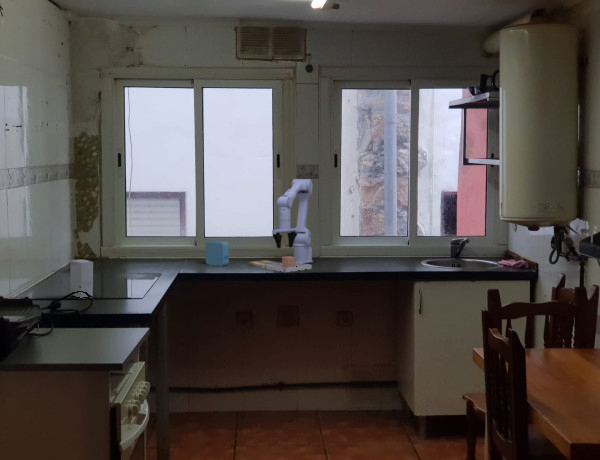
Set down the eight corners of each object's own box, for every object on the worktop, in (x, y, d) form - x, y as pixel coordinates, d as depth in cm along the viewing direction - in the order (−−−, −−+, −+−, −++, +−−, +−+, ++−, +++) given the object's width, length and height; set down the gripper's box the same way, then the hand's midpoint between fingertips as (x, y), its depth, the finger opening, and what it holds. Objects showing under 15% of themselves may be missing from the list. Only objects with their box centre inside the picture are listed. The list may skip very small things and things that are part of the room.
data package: (229, 265, 399) (228, 242, 398) (223, 266, 395) (223, 243, 394) (211, 263, 406) (211, 240, 404) (205, 264, 402) (205, 241, 401)
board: (266, 263, 406) (266, 260, 406) (280, 265, 397) (280, 262, 397) (248, 265, 398) (248, 262, 398) (262, 267, 389) (262, 264, 389)
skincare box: (69, 296, 313) (68, 260, 311) (82, 294, 317) (81, 258, 316) (81, 299, 307) (80, 262, 306) (94, 297, 312) (93, 260, 310)
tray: (292, 265, 398) (292, 261, 398) (311, 268, 386) (311, 264, 386) (265, 268, 386) (265, 264, 386) (284, 272, 375) (284, 268, 374)
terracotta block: (289, 268, 389) (289, 256, 389) (294, 269, 386) (294, 257, 385) (282, 268, 386) (282, 257, 386) (287, 269, 383) (287, 257, 382)
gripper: (291, 219, 393) (291, 245, 395) (268, 220, 384) (268, 247, 386) (299, 220, 388) (299, 246, 389) (277, 221, 379) (277, 249, 380)
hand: (284, 247), depth 387 cm, fingers open, 7 cm apart
